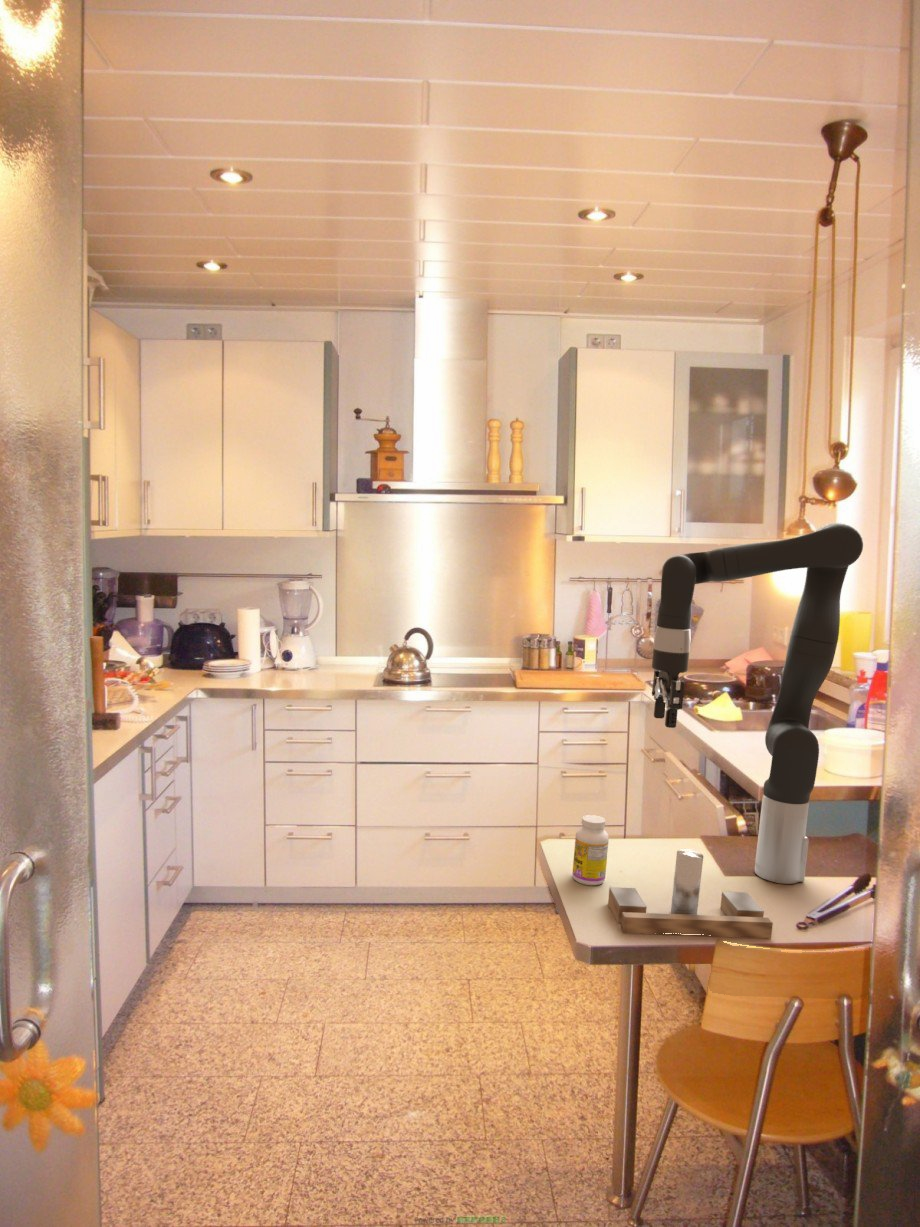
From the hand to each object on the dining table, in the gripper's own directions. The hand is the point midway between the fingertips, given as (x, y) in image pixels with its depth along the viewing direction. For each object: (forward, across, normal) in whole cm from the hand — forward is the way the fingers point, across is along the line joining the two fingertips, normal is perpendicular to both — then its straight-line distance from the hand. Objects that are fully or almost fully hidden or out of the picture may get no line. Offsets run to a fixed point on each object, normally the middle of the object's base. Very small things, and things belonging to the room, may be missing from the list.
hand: (664, 722), depth 194 cm
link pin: (+30, -29, +2) cm, 42 cm away
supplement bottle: (+30, -14, +17) cm, 37 cm away
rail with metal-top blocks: (+30, -31, +2) cm, 43 cm away
